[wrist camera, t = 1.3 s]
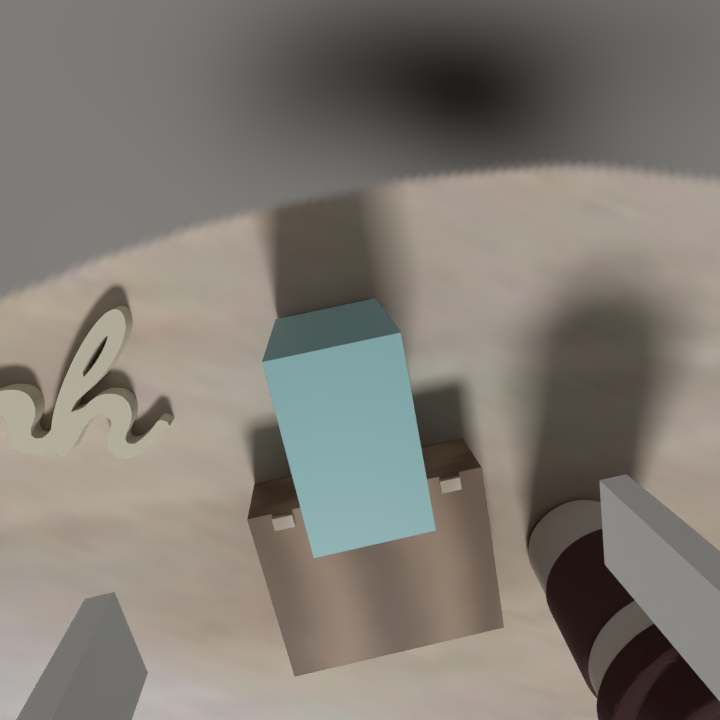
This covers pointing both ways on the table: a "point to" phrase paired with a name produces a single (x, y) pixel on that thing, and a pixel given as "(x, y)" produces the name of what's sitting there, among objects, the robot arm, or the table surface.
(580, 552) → the coffee cup
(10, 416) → the decorative sign
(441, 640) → the brown block
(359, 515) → the light teal block
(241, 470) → the table surface
